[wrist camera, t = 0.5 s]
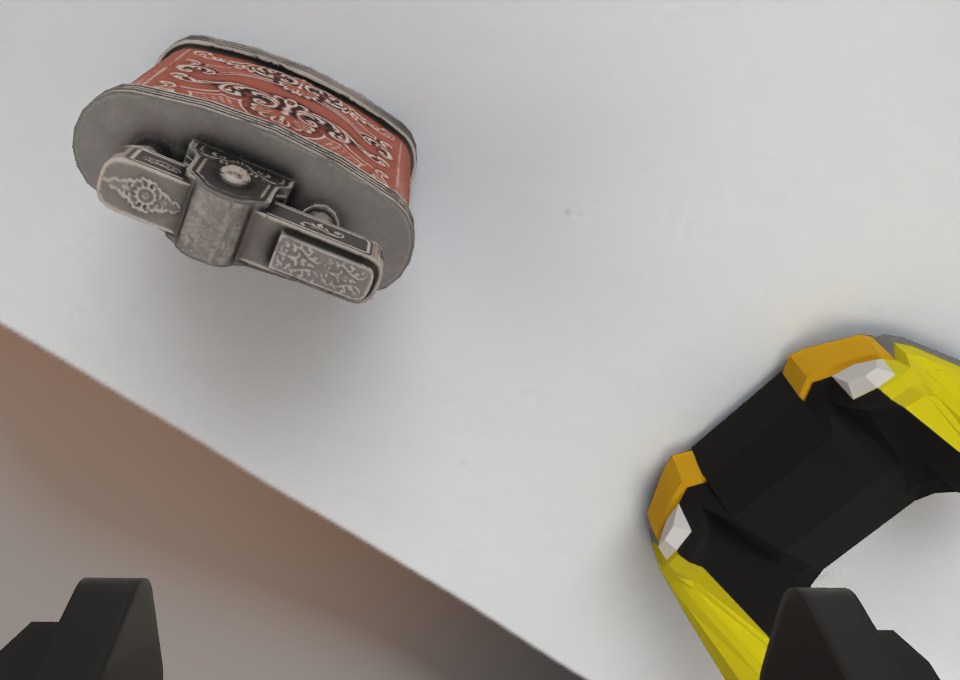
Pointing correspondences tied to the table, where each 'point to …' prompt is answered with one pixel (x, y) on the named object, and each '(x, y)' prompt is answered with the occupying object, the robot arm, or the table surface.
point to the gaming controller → (801, 483)
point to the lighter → (256, 166)
